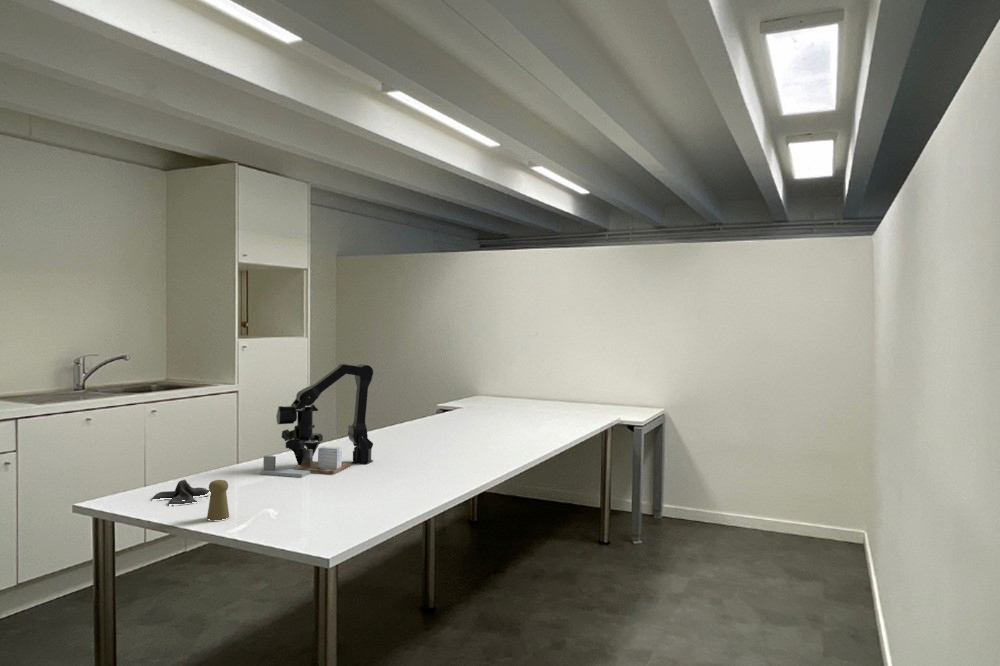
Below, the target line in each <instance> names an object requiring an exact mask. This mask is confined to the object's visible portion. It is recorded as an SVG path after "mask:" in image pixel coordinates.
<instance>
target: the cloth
mask: <svg viewBox="0 0 1000 666" xmlns="http://www.w3.org/2000/svg"><path fill="white" fill-rule="evenodd" d="M208 492H209V489H207V488H206V487H205V488H204V487H198V486H197V487H192V486H191V485H190V484H189V483H188V481H187V480H186V479H181V480H179V481H178V482H177V484H176V487H175V489H174V490H172V491H171V490H170V491H169V490H168V491H160V492H157V493H155V495H154V496H153V497H151V500H152V499H160V498H172V499H171V500H168V505H169V504H184V503H192V502H197V501H198V500H196V499H195V498H193V496H200V495H205V494H207V493H208ZM207 496H208V495H207ZM207 496H204V497H207ZM182 500H185V501H182Z"/></svg>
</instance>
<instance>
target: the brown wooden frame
mask: <svg viewBox="0 0 1000 666" xmlns="http://www.w3.org/2000/svg"><path fill="white" fill-rule="evenodd" d="M313 457H314V455H313V449H307V448H306V450H305V454H304V457H303V461H302V464H301V465H297V466H295V467H292V469H294V470H307V471H310V474H318V473H319V474H320V475H321V474H322V475H331V474H334V475H336V474H338V473H341V472H342V470H343V471H344V469H345V470H347V469H349V468H351V463H345V462H344V463H343V462H341V467H340V468H338V469H332V470H325V469H319V468H318V460H317V461H316V460H313ZM348 467H349V468H348ZM346 468H347V469H346Z"/></svg>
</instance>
